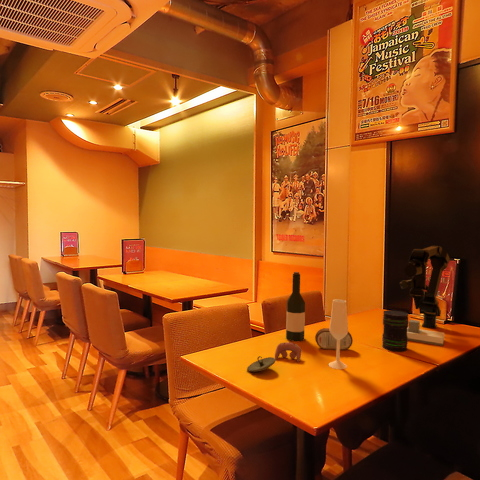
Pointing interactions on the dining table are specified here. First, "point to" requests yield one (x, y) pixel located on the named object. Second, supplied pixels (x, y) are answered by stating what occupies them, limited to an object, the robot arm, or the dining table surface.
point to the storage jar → (395, 330)
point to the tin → (332, 340)
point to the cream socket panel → (426, 337)
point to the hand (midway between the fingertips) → (418, 307)
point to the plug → (414, 326)
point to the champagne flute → (338, 328)
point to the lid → (261, 364)
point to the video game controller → (288, 347)
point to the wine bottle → (295, 312)
